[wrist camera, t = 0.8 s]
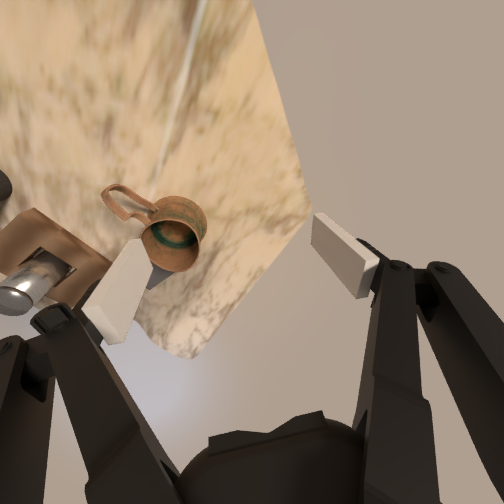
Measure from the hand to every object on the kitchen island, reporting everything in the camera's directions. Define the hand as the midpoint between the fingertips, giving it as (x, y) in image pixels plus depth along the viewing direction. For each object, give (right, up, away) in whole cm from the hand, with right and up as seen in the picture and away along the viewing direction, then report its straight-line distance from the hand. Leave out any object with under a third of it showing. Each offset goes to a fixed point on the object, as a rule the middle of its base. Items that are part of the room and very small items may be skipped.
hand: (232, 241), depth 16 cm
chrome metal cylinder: (-38, -2, +26) cm, 46 cm away
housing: (-38, -2, +26) cm, 46 cm away
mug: (-15, +7, +25) cm, 30 cm away
